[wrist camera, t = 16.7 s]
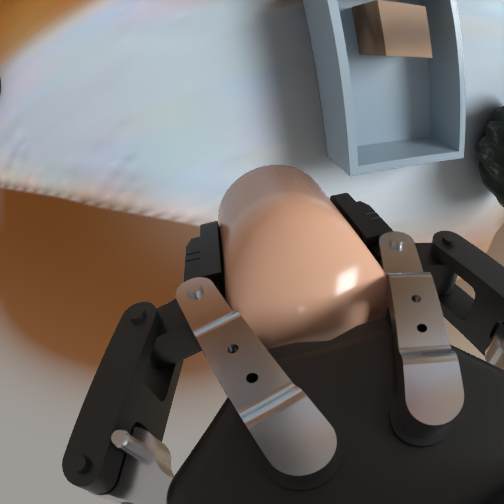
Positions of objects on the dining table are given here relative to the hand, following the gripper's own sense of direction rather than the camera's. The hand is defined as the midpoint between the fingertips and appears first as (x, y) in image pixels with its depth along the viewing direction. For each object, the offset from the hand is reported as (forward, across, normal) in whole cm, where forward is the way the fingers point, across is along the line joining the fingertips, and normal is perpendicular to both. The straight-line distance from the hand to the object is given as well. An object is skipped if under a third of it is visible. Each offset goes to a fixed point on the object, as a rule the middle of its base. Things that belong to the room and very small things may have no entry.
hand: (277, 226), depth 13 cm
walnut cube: (+17, -15, -9) cm, 24 cm away
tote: (+17, -15, -5) cm, 23 cm away
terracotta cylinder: (+1, 0, 0) cm, 1 cm away
